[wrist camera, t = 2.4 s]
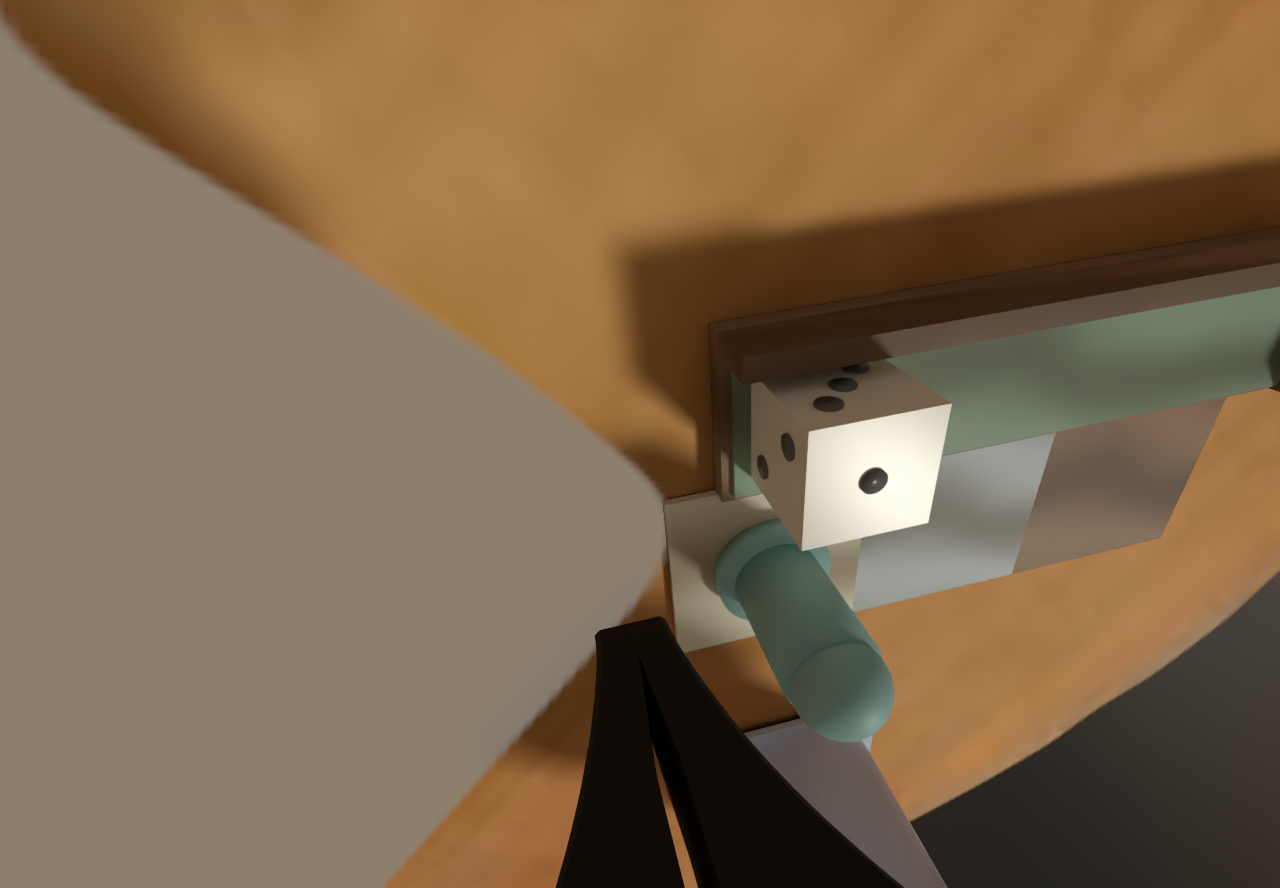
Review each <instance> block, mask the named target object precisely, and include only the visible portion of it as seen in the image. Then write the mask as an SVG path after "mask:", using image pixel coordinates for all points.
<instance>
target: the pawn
mask: <svg viewBox="0 0 1280 888" xmlns="http://www.w3.org/2000/svg"><path fill="white" fill-rule="evenodd" d="M830 570H831V556H830V553H829V550H828V548H827V547H826V546H823V547H818V548H814V549H810V550H805V551H801V549H800V548H799V547H798V545H797V544H796V542H795V541H794V539H793V538H792V536H791V535H790V533H789V532H788V530H787V529H786V527H785V526H784V524H783V523H782V522H781V520H780V519H773V520H768V521H764V522H761V523H758V524H755V525H753V526H751V527H749V528H747V529H746V530H744V531H742V532H741V533H739V534H738V535H737V536H736V537H734V538H733V539H732V540H731V541H730V542H729V543H728V544H727V545H726V546H725V548H724V549H723V550H722V552H721V553H720V555H719V557H718V559H717V562H716V564H715V568H714V583H715V586H716V589H717V591H718V593H719V596H720V598H721V600H722V602H723V604H724V606H725V607H726V608H727V610H728V611H729V612H731V613H732V614H733V615H735V616H737V617H739V618H741V619H744V620H748V621H749V623H750V625H751V627H752V629H753V631H754V633H755V635H756V637H757V639H758V641H759V643H760V645H761V647H762V650H763V652H764V654H765V656H766V658H767V660H768V662H769V664H770V666H771V668H772V670H773V672H774V674H775V676H776V678H777V681H778V683H779V685H780V687H781V689H782V691H783V693H784V695H785V697H786V699H787V700H788V702H789V703H790V704H792V705H793V706H794V708H795V710H796V712H797V713H798V715H799V716H800V718H801V719H802V720H803V721H804V723H805V724H806V725H807V726H809V727H810V728H811V729H812V730H814V731H815V732H816V733H818V734H820V735H822V736H823V737H825V738H828V739H831V740H834V741H840V742H856V741H860V740H863V739H866V738H868V737H870V736H872V735H873V734H875V733H876V732H877V731H879V730H880V729H881V728H882V727H883V725H884V724H885V723H886V721H887V720H888V718H889V715H890V713H891V710H892V707H893V702H894V688H893V682H892V678H891V675H890V672H889V670H888V668H887V666H886V664H885V663H884V661H883V659H882V655H881V652H880V650H879V648H878V647H877V645H876V644H875V642H874V641H873V639H872V638H871V637H870V635H869V634H868V632H867V631H866V629H865V628H864V627H863V625H862V624H861V622H860V621H859V619H858V618H857V617H856V615H855V614H854V612H853V611H852V609H851V608H850V607H849V605H848V604H847V602H846V601H845V599H844V598H843V597H842V595H841V594H840V592H839V591H838V589H837V588H836V587H835V585H834V584H833V582H832V581H831V579H830V578H829V574H830Z"/></svg>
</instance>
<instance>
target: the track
mask: <svg viewBox="0 0 1280 888" xmlns="http://www.w3.org/2000/svg"><path fill="white" fill-rule="evenodd" d="M1225 399H1226V397H1223V398H1218V399H1214V400H1209V401H1204V402H1199V403H1195V404H1190V405H1185V406H1180V407H1175V408H1171V409H1166V410H1161V411H1156V412H1152V413H1147V414H1142V415H1137V416H1132V417H1128V418H1123V419H1118V420H1113V421H1109V422H1104V423H1099V424H1094V425H1090V426H1085V427H1080V428H1075V429H1070V430H1066V431H1061V432H1056V433H1051V434H1047V435H1042V436H1037V437H1032V438H1027V439H1023V440H1018V441H1013V442H1008V443H1004V444H999V445H994V446H989V447H985V448H980V449H975V450H970V451H965V452H961V453H956V454H951V455H946V456H942V457H941V461H940V466H939V471H938V476H937V481H936V486H935V491H934V496H933V501H932V506H931V511H930V516H929V521H928V523H925V524H921V525H916V526H912V527H908V528H903V529H899V530H894V531H890V532H885V533H881V534H876V535H872V536H867V537H863V538H859V539H854V540H850V541H845V542H841V543H836V544H832V545H827V546H826V547H827V548H828V550H829V553H830V556H831V570H830V574H829V578H830V579H831V581H832V582H833V584H834V585H835V587H836V588H837V589H838V591H839V592H840V594H841V595H842V597H843V598H844V599H845V601H846V602H847V604H848V605H849V607H850V608H851V609H852V611H853V612H856V611H860V610H864V609H868V608H872V607H876V606H881V605H885V604H889V603H893V602H897V601H901V600H905V599H910V598H914V597H918V596H922V595H926V594H930V593H934V592H939V591H943V590H947V589H951V588H955V587H959V586H963V585H968V584H972V583H976V582H980V581H984V580H988V579H992V578H997V577H1001V576H1005V575H1009V574H1013V573H1017V572H1021V571H1026V570H1030V569H1034V568H1038V567H1042V566H1046V565H1050V564H1055V563H1059V562H1063V561H1067V560H1071V559H1075V558H1079V557H1084V556H1088V555H1092V554H1096V553H1100V552H1104V551H1108V550H1113V549H1117V548H1121V547H1125V546H1129V545H1133V544H1137V543H1142V542H1146V541H1150V540H1154V539H1158V538H1161V536H1162V534H1163V532H1164V529H1165V527H1166V525H1167V523H1168V521H1169V519H1170V517H1171V514H1172V512H1173V510H1174V508H1175V506H1176V504H1177V502H1178V500H1179V497H1180V495H1181V493H1182V491H1183V489H1184V487H1185V485H1186V482H1187V480H1188V478H1189V476H1190V474H1191V472H1192V470H1193V468H1194V465H1195V463H1196V461H1197V459H1198V457H1199V455H1200V453H1201V450H1202V448H1203V446H1204V444H1205V442H1206V440H1207V438H1208V435H1209V433H1210V431H1211V429H1212V427H1213V425H1214V423H1215V421H1216V418H1217V416H1218V414H1219V412H1220V410H1221V408H1222V406H1223V403H1224V401H1225ZM663 510H664V521H665V531H666V541H667V552H668V562H669V572H670V583H671V593H672V603H673V614H674V624H675V634H676V641H677V642H678V644H679V646H680V647H681V649H682V651H683V652H684V653H686V652H690V651H694V650H698V649H702V648H707V647H711V646H715V645H719V644H723V643H727V642H731V641H736V640H740V639H744V638H748V637H752V636H756V635H755V633H754V631H753V629H752V627H751V625H750V623H749V621H748V620H744V619H741V618H739V617H737V616H735V615H733V614H732V613H731V612H729V611H728V610H727V608H726V607H725V606H724V604H723V602H722V600H721V598H720V596H719V593H718V591H717V589H716V586H715V583H714V568H715V564H716V562H717V559H718V557H719V555H720V553H721V552H722V550H723V549H724V548H725V546H726V545H727V544H728V543H729V542H730V541H731V540H732V539H733V538H734V537H736V536H737V535H738V534H739V533H741V532H742V531H744V530H746V529H747V528H749V527H751V526H753V525H755V524H758V523H761V522H764V521H768V520H773V519H779V517H778V516H777V514H776V513H775V511H774V510H773V508H772V507H771V505H770V504H769V502H768V501H767V499H766V498H765V497H764V495H763V494H760V495H755V496H751V497H746V498H741V499H736V500H732V501H727V502H722V501H721V499H720V497H719V496H718V494H717V492H716V490H713V491H708V492H703V493H698V494H693V495H688V496H684V497H679V498H674V499H669V500H664V501H663Z"/></svg>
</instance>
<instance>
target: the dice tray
mask: <svg viewBox="0 0 1280 888" xmlns="http://www.w3.org/2000/svg"><path fill="white" fill-rule="evenodd" d="M709 339H710V365H711V391H712V417H713V443H714V469H715V490H716V492H717V494H718V496H719V497H720V499H721V501H722V502H727V501H732V500H736V499H741V498H746V497H751V496H755V495H760V494H762V492H761V491H760V489H759V488H758V486H757V485H756V483H755V482H754V480H753V479H752V477H751V384H753V383H758V382H764V381H769V380H775V379H780V378H786V377H791V376H796V375H802V374H807V373H813V372H818V371H824V370H829V369H834V368H840V367H845V366H851V365H856V364H862V363H867V362H872V361H878V360H883V359H885V360H887V361H888V362H890V363H891V364H893V365H894V366H896V367H897V368H899V369H900V370H902V371H903V372H905V373H906V374H908V375H909V376H911V377H912V378H914V379H915V380H917V381H919V382H920V383H922V384H923V385H925V386H926V387H928V388H929V389H931V390H932V391H934V392H935V393H937V394H938V395H940V396H941V397H943V398H944V399H946V400H948V401H949V402H951V403H952V406H951V411H950V416H949V421H948V426H947V431H946V436H945V441H944V446H943V451H942V456H946V455H951V454H956V453H961V452H965V451H970V450H975V449H980V448H985V447H989V446H994V445H999V444H1004V443H1008V442H1013V441H1018V440H1023V439H1027V438H1032V437H1037V436H1042V435H1047V434H1051V433H1056V432H1061V431H1066V430H1070V429H1075V428H1080V427H1085V426H1090V425H1094V424H1099V423H1104V422H1109V421H1113V420H1118V419H1123V418H1128V417H1132V416H1137V415H1142V414H1147V413H1152V412H1156V411H1161V410H1166V409H1171V408H1175V407H1180V406H1185V405H1190V404H1195V403H1199V402H1204V401H1209V400H1214V399H1218V398H1223V397H1228V396H1233V395H1237V394H1242V393H1247V392H1252V391H1257V390H1261V389H1266V388H1270V389H1273V390H1276V391H1278V392H1280V227H1276V228H1270V229H1264V230H1258V231H1253V232H1247V233H1241V234H1235V235H1229V236H1223V237H1217V238H1211V239H1205V240H1199V241H1193V242H1187V243H1181V244H1175V245H1169V246H1164V247H1158V248H1152V249H1146V250H1140V251H1134V252H1128V253H1122V254H1116V255H1110V256H1104V257H1098V258H1092V259H1086V260H1080V261H1075V262H1069V263H1063V264H1057V265H1051V266H1045V267H1039V268H1033V269H1027V270H1021V271H1015V272H1009V273H1003V274H997V275H992V276H986V277H980V278H974V279H968V280H962V281H956V282H950V283H944V284H938V285H932V286H926V287H920V288H914V289H908V290H903V291H897V292H891V293H885V294H879V295H873V296H867V297H861V298H855V299H849V300H843V301H837V302H831V303H825V304H819V305H814V306H808V307H802V308H796V309H790V310H784V311H778V312H772V313H766V314H760V315H754V316H748V317H742V318H736V319H731V320H725V321H719V322H713V323H709ZM942 456H941V457H942Z"/></svg>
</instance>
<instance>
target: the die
mask: <svg viewBox="0 0 1280 888" xmlns="http://www.w3.org/2000/svg"><path fill="white" fill-rule="evenodd" d="M951 406H952V403H951V402H949V401H948V400H946V399H944V398H943V397H941V396H940V395H938V394H937V393H935V392H934V391H932V390H931V389H929V388H928V387H926V386H925V385H923V384H922V383H920V382H919V381H917V380H915V379H914V378H912V377H911V376H909V375H908V374H906V373H905V372H903V371H902V370H900V369H899V368H897V367H896V366H894V365H893V364H891V363H890V362H888V361H887V360H885V359H883V360H878V361H872V362H867V363H862V364H856V365H851V366H845V367H840V368H834V369H829V370H824V371H818V372H813V373H807V374H802V375H796V376H791V377H786V378H780V379H775V380H769V381H764V382H758V383H753V384H751V477H752V479H753V480H754V482H755V483H756V485H757V486H758V488H759V489H760V491H761V492H762V494H763V495H764V497H765V498H766V499H767V501H768V502H769V504H770V505H771V507H772V508H773V510H774V511H775V513H776V514H777V516H778V517H779V519H780V520H781V522H782V523H783V524H784V526H785V527H786V529H787V530H788V532H789V533H790V535H791V536H792V538H793V539H794V541H795V542H796V544H797V545H798V547H799V548H800V549H801V551H805V550H810V549H814V548H818V547H823V546H827V545H832V544H836V543H841V542H845V541H850V540H854V539H859V538H863V537H867V536H872V535H876V534H881V533H885V532H890V531H894V530H899V529H903V528H908V527H912V526H916V525H921V524H925V523H928V521H929V516H930V511H931V506H932V501H933V496H934V491H935V486H936V481H937V476H938V471H939V466H940V461H941V456H942V451H943V446H944V441H945V436H946V431H947V426H948V421H949V416H950V411H951Z"/></svg>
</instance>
